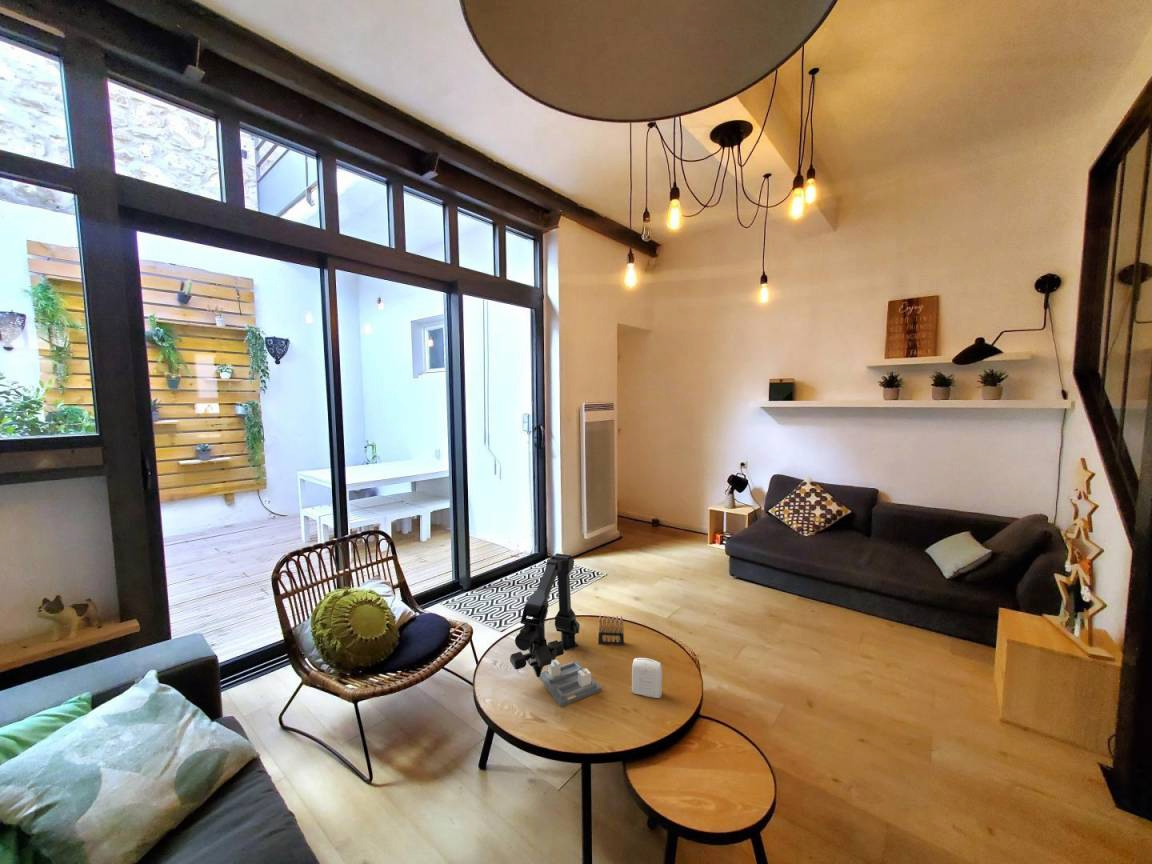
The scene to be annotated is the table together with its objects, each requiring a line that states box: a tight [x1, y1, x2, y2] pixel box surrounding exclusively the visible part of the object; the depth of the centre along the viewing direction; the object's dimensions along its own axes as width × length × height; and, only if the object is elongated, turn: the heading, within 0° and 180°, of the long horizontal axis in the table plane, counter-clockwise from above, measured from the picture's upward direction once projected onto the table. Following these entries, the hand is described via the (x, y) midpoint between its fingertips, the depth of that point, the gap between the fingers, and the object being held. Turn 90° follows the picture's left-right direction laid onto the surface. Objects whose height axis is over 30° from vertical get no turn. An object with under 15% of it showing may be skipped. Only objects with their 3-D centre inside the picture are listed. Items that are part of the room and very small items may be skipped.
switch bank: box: [538, 660, 602, 707], centre depth 159 cm, size 18×16×2 cm
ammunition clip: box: [597, 615, 625, 646], centre depth 184 cm, size 11×2×12 cm, turn 84°
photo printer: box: [631, 657, 663, 699], centre depth 153 cm, size 10×4×12 cm, turn 73°
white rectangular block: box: [547, 658, 561, 678], centre depth 162 cm, size 3×4×5 cm
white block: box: [578, 667, 592, 688], centre depth 156 cm, size 3×4×5 cm
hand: (538, 676), depth 159 cm, fingers closed
